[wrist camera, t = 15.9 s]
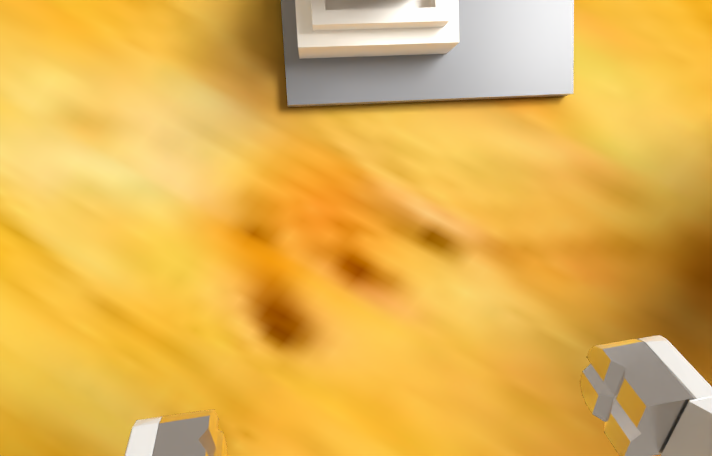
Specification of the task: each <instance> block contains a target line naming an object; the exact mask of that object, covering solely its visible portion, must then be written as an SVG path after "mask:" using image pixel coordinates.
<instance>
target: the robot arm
mask: <svg viewBox="0 0 712 456" xmlns="http://www.w3.org/2000/svg"><path fill="white" fill-rule="evenodd" d="M587 359H588V360H589V362H590V363H591V364H590V365H589V366H588V367H587V368H586V369H585V370H583V371H582V375H581V380H580V386H581V392H582V396H583V398H584V400H585V403H586V405H587V406H588V408H589V410H590V411H591V413H592V414H593V415H595V416H596V417H598V418H600V419H601V420H603V421H604V422H605V425H604V433H605V434H606V436H607V437H608V439H609V441H610V442H611V444H612V445H613V447H614V448H615V450H616V451H617V453H618V454H619V456H653V455H659V454H661V456H712V387H711V385H710V384H709V383H708V382H707V381H706V380H705V379H704V378H703V377H702V376H701V375H700V374H699V373H698V372H697V371H696V370H695V368H694V367H693V366H692V365H691V364H690V363H689V362H688V361H687V360H686V359H685V358H684V357H683V356H682V355H681V354H680V353H679V351H678V350H677V349H676V348H675V347H674V346H673V345H672V344H671V343H670V342H669V341H668V340H667V339H666V338H664V337H662V336H660V335H657V336H650V337H644V338H639V339H629V340H624V341H618V342H613V343H607V344H601V345H596V346H593V347H592V348H591V349H590V350H589V352H588V355H587ZM218 421H219V418H218V416H217V413H216V411H215V409H211V410H204V411H197V412H190V413H182V414H175V415H168V416H161V417H154V418H148V419H142V420H137V421H136V422H135V424H134V426H133V427H132V429H131V433H130V437H129V441H128V445H127V449H126V452H125V456H228V451H227V444H226V439H225V436H224V433H223V432H222V431H220V430H219V429H218Z"/></svg>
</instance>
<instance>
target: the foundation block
mask: <svg viewBox="0 0 712 456" xmlns="http://www.w3.org/2000/svg"><path fill="white" fill-rule="evenodd" d="M295 7H296V23H297V39H298V51H299V57H300V59H303V58H333V57H363V56H393V55H422V54H447V53H448V52H449V51H450V50H451V49H452V48H454V47H455V46H456V45H457V44H458V43H459V2H458V0H295Z"/></svg>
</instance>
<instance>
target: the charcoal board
mask: <svg viewBox="0 0 712 456" xmlns="http://www.w3.org/2000/svg"><path fill="white" fill-rule="evenodd" d="M458 2H459V43H458V44H457V45H456V46H455V47H454V48H452V49H451V50H450V51H449V52H448V53H447V54H422V55H393V56H363V57H333V58H303V59H300V57H299V51H298V39H297V23H296V7H295V0H281V12H282V27H283V42H284V57H285V73H286V88H287V103H288V107H302V106H326V105H351V104H375V103H399V102H424V101H448V100H473V99H497V98H522V97H546V96H567V95H570V94H573V43H574V0H458Z"/></svg>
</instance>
